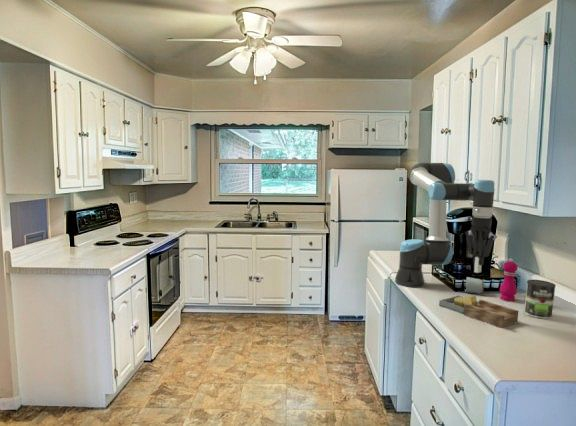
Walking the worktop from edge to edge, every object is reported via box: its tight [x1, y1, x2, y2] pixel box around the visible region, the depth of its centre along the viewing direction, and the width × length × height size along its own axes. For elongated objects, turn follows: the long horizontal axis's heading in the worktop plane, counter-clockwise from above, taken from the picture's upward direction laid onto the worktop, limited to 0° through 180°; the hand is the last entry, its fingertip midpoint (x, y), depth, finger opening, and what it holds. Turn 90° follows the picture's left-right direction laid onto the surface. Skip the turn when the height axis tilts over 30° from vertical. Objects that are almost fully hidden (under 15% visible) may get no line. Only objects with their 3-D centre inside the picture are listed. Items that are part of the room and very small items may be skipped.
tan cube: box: [454, 296, 464, 308], centre depth 178 cm, size 4×4×4 cm
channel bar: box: [463, 299, 519, 329], centre depth 167 cm, size 16×12×5 cm
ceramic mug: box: [464, 276, 485, 295], centre depth 204 cm, size 11×8×8 cm
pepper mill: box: [499, 258, 518, 302], centre depth 192 cm, size 7×7×20 cm
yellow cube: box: [462, 295, 478, 307], centre depth 175 cm, size 4×4×4 cm
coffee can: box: [524, 279, 556, 320], centre depth 173 cm, size 10×10×14 cm
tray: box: [438, 295, 479, 315], centre depth 181 cm, size 12×14×2 cm
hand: (477, 271), depth 171 cm, fingers closed
